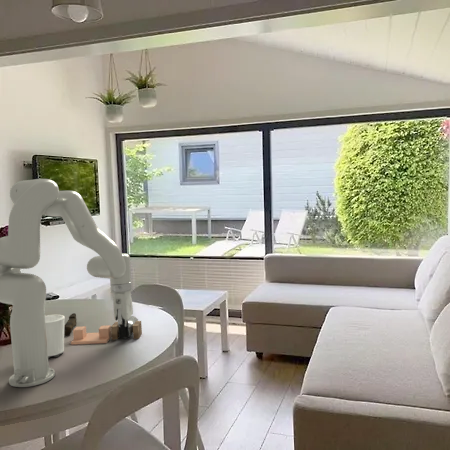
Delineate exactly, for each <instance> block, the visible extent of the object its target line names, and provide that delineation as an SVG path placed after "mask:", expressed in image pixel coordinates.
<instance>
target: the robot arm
mask: <svg viewBox="0 0 450 450" xmlns="http://www.w3.org/2000/svg"><path fill="white" fill-rule="evenodd" d="M9 197H10V200H11V201H12V202H13V206H12V208H11V210H10V213H9V216H8V231H7V235H6V236H3V237H0V303H2V304H6V305H12V310H11V314H10V318H9V328H10V339H11V351H12V362H13V363H12V365H13V374H12V375H11V376H9V378H8V384H9V385H10V386H11V387H14V388H29V387H35V386H38V385H42V384H45V383H47V382H49V381H50V380H52V379H53V378H54V377H55V375H56V373H55V369H54V368H53V367H50V364H49V358H48V350H47V337H46V325H45V316H46V312H45V307H46V297H47V286H46V283H45V281H44V280H43V279H42V278H41V277H40V276H38V275H36V274H33V273H25V272H21V270H25V269H26V270H27V269H28V270H29V269H32V268H35V267H36V266H37V265H38V264H39V262H40V259H41V221H42V218H43V216H49V217H61V218H62V220H63V222H64V224H65V226H66V227H67V229H68V231H69V232H70V235H71V237H72V239H73V240H74V241H75V242H77V243H79V245H82V246H84V247H86V248H88V249H90V250H92V251H93V252H95V253H96V254H97V255H96V256H93V257H91V258H90V259H89V261H88V262H87V264H86V270H87V272H88V274H89V275H90V276H92V277H94V278H100V279H109V281H110V293H111V294H113V295H112V296H113V299H112V301H113V302H112V303H113V305H112V306H113V307H112V308H113V318H114V320H115V322H118V325H119V338H123V339H125V338H124V337H128V336H129V326H128V319H129V318H130V317H131V316H133V314H134V308H133V298H132V291H133V287H132V286H133V284H132V271H131V269H132V268H131V256H130V254H128V253H125V252H124V253H123V252H121V249H120V248H119V246H118V245H117V244H116V243H115V241H114V240H112V239H111V237H109V236H108V235H107V234H106V233H105V231H102V230H101V229H100V228H99V227H98V226H97V223H96V222H95V220H94V217H93V216H92V213H91V211H90V210H89V208H88V206H87V204H86V203H85V200H84V199H83V196H82V195H81V194H80V193H79V192H77V191H75V190H60V189H59V186H58V183H57V182H55V181H54V180H52V179H49V178H36V179H28V180H27V179H26V180H25V179H24V180H19V181H17V182H16V183H14V184H13V185H12V186H11V188H10V190H9ZM128 338H129V337H128Z"/></svg>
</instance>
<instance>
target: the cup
mask: <svg viewBox="0 0 450 450" xmlns="http://www.w3.org/2000/svg"><path fill="white" fill-rule="evenodd" d="M65 319H66V317H65V315H63V314H48V315H45V325H46V337H47V350H48V359H50V358H51V357H53V358H57V357H60V355H62V354H63V353H64V352H65V336H64V325H65V324H66V323H65V322H66V321H65Z"/></svg>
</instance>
